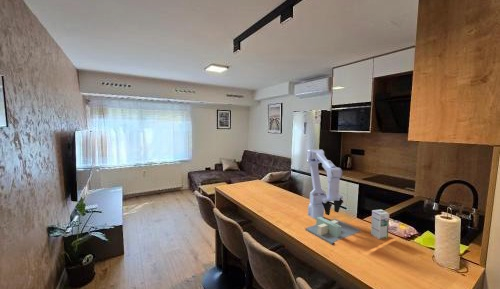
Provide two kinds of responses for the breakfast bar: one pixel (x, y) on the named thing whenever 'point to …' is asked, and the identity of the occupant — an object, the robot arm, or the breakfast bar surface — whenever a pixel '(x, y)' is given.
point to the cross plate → (330, 226)
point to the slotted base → (324, 234)
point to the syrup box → (380, 224)
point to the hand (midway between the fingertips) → (331, 213)
